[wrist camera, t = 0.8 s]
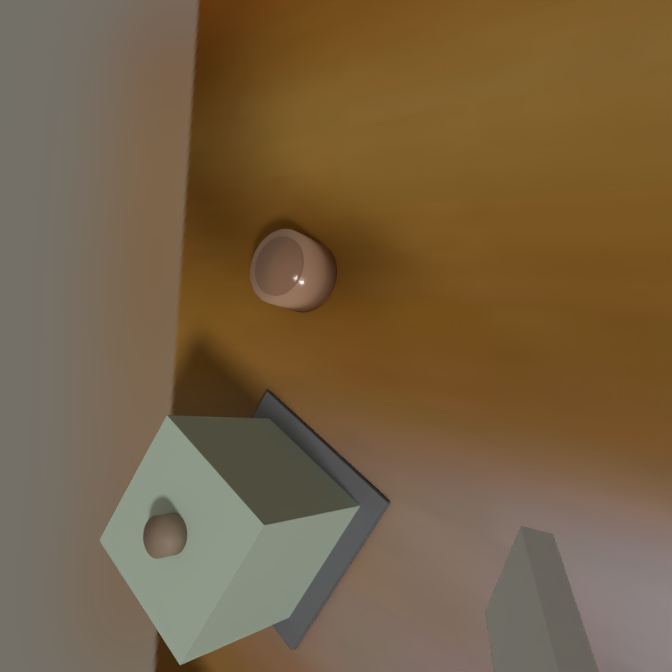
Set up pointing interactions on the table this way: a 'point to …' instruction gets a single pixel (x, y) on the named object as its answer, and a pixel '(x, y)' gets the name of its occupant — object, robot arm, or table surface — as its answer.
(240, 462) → the sage green cube
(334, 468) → the mat
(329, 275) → the bowl
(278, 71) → the table surface
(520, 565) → the robot arm
